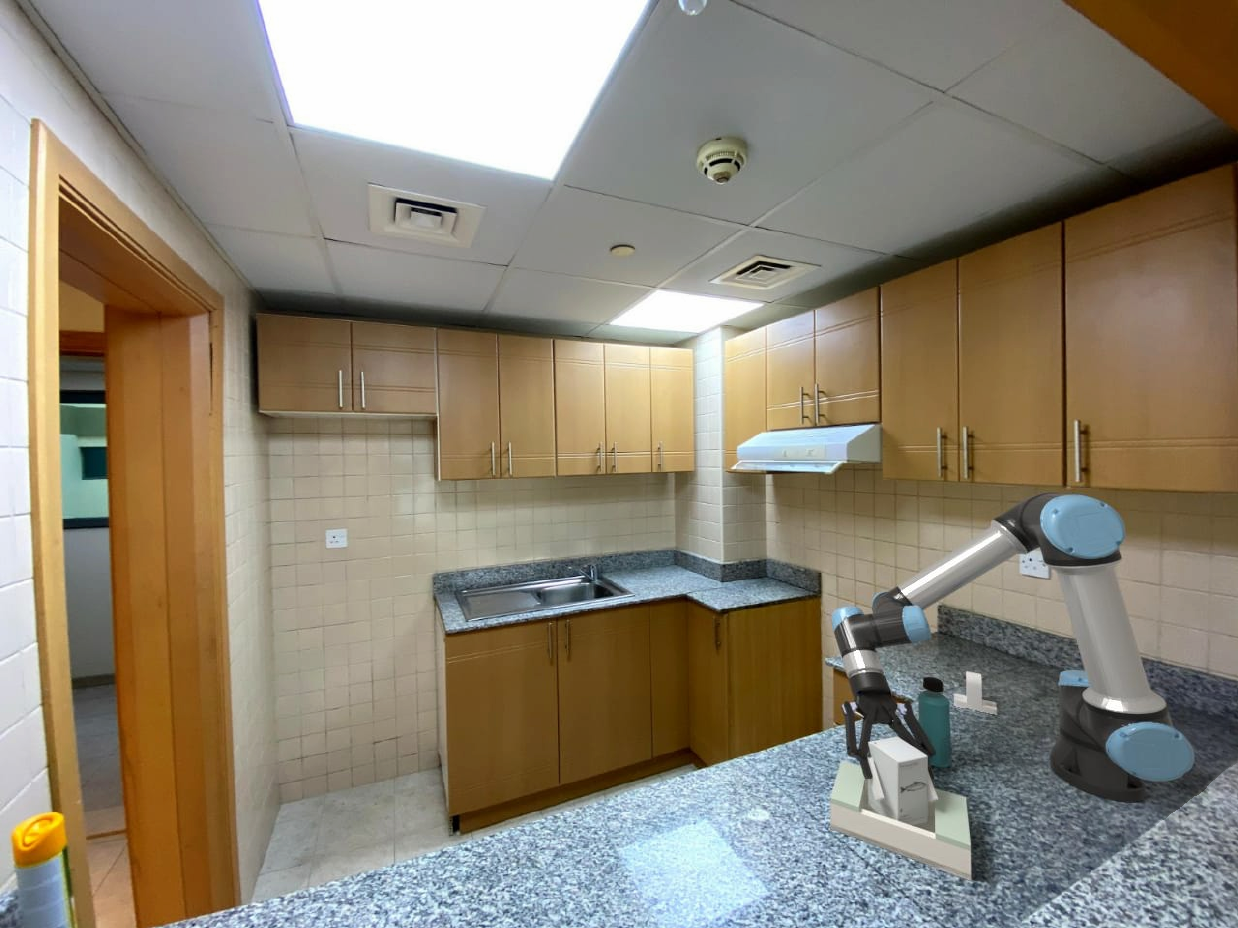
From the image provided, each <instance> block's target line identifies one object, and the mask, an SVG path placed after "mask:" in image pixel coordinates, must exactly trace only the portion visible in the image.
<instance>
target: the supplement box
mask: <svg viewBox="0 0 1238 928" xmlns="http://www.w3.org/2000/svg"><path fill="white" fill-rule="evenodd" d="M868 746H869V749H868V756H867V758H873V761H874V765H875V768H876V771H877V775H878V778H879V781H880V785H881V788H882V791H883V795H884V798H883V799H882V800H880V801H875V798H874V794H873V791H872V787H871V784H870V780H869V779H868V804H869V805H870V806H871V807H872V808H873V809H874V810H875V811H876V812H878V813H879V814H880V815H882V816H885V817H888V818H891V819H894V820H897V821H900V822H903V823H906V824H909V825H915V824H919V823H924V822H927V821H928V756H927V755H925V754H924V753H922V752H921V751H919V750H918V749H916V748H915V747H913V746H911V745H910V744H908V743H907V742H905V741H904V740H902V739H900V738H899V736H893V737H888V738H882V739H878V740H870V742H868Z"/></svg>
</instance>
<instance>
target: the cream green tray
mask: <svg viewBox="0 0 1238 928" xmlns="http://www.w3.org/2000/svg"><path fill="white" fill-rule="evenodd" d="M934 789H935V791H936V794H937V797H938V800H936V801H934V802H928V821H927V822H924V823H919V824H915V825H909V824H906V823H903V822H900V821H897V820H894V819H891V818H888V817H885V816H882V815H880V814H879V813H878V812H876V811H875V810H874V809H873V808H872V807H871V806H870V805H869V804H868V779H865V777H864V776H863V772H862V769H861V765H860V764H859V765H858V764H855V763H853V762H849V761H845V760H840V763H839V765H838V770H837V773H836V776H835V780H834V784H833V787H832V790H831V793H830V797H829V815H830V816H829V824H830V825H829V826H830V830H833V831H835V832H838V833H840V834H844V835H846V836H848V837H851V838H854V839H856V840H859V841H862V842H865V843H867V844H870V845H872V846H874V847H875V846H876V847H878V848H881V849H884V850H886V851H889V852H892V853H894V854H897V855H900V856H902V857H905V858H907V859H911V860H913V861H917V862H918V863H922V864H924V865H927V866H929V867H932V868H935V869H937V870H939V871H940V870H941V871H943V872H946V873H949V874H950V875H954V876H956V877H959V878H961V879H964V880H967V881H969V882H972V843H971V835H970V833H971V832H970V825H969V824H970V823H969V814H968V806H967V797H966V796H963V795H960V794H957V793H953V792H950V791H947V790H943V789H940V788H936V787H934Z"/></svg>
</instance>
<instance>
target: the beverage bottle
mask: <svg viewBox="0 0 1238 928" xmlns="http://www.w3.org/2000/svg"><path fill="white" fill-rule="evenodd" d="M922 681H923V682H922V688H923V689H924V690H923V691H921V692H920V693H918V695H917V699H918V701H917V702H918V703H917V704H918V705H917V706H918V707H917V708H918V711H917V712H918V713H917V714H918V716H917V720H918V722H919V724H920V726H921V727H922V729H923V731H924V732H925V734H926V736H927V737H928V739H929V741H930V742H931V744H932V746H933V747H934V749H935V751H936V755H934V756H933V757H931V758H930V759H929V763H930V766H934V767H937V768H947V767H949V766H950V765H951V763H952V757H953V756H952V752H953V751H952V734H951V726H952V725H951V720H950V719H951V717H950V715H951V714H950V710H951V709H950V703H951V702H950V700H949V699H948V698H947V697H946V696H945V695H944V694H943V693H944V691H945V688H944V681H943V680H942V679H939V678H937V677H933V676H926V677H924V678H923V680H922Z"/></svg>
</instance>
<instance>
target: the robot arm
mask: <svg viewBox="0 0 1238 928" xmlns="http://www.w3.org/2000/svg"><path fill="white" fill-rule="evenodd" d="M1125 538H1126V524H1125V522H1124V520H1123V518H1122V516H1121V515H1120V514H1119V512H1118V511H1117V510H1116V509H1115V508H1113V507H1112V506H1111V505H1110V504H1108V503H1106V502H1104V501H1102V500H1099V499H1097V498H1094V497H1090V496H1087V495H1083V494H1068V493H1067V494H1066V493H1059V492H1049V491H1048V492H1040V493H1037V494H1034V495H1031V496H1029V497H1027V498H1025V499H1023V500H1021V501H1020V502H1018V503H1017V504H1015V505H1013V506H1012V507H1010V508H1009V509H1007V510H1005V511H1004V512H1002V513H1001V514H999V515H998V516H997V517H995V518H993V519H991V521H990V526H989V527H987V529H985V530H984V531H982V532H980V533H979V534H977V535H976V536H973V537H972V538H971V539H969V540H968V541H966V542H965V543H962V545H960V546H958V547H957V548H956V549H954V550H952V551H950V552H949V553H947V554H945V555H944V556H942V557H941V558H939V559H938V560H936V561H935V562H933V563H932V564H930V565H928V566H927V567H925V568H924V569H923V570H920V571H919V572H918V573H916V574H915V575H913V576H911V577H910V578H908V579H906V580H904V581H903V582H902V583H899V585H897V586H895V587H894V588H892V589H890V590H886V591H885V590H883V591H880V592H878V593H876V594H875V595H874V596H873V598H872V600H871V610H872V613H866V614H865V613H864V612H863V611H862V609H861V608H860V607H858V606H848V605H847V606H842V607H839V608H837V609H835V610H834V611H832V613H831V616H830V622H831V626H832V630H833V635H834V637H835V640H836V644H837V647H838V650H839V653H840V655H841V659H842V662H843V663H842V664H843V666H844V670H845V673H846V676H847V678H848V684H849V686H850V687H849V688H850V689H851V693H852V696H853V699H854V700H853V702H849V701H848V700H846V701H844V702H843V704H842V705H841V707H840V708H841V711H842V714H843V716H844V727H845V740H846V741H845V742H846V754H847V755H848V757H851V758H855V760H856V761H857V762H859V766H861V769H862V772H863V776H864V777H865V779H869V780H870V784H871V787H872V791H873V794H874V798H875V801H880V800H882V799H883V798H884V795H883V791H882V788H881V785H880V781H879V778H878V775H877V771H876V768H875V765H874V761H873V758H868V749H869V746H868V742H871V736H872V729H873V725H879V724H881V725H884V726H885V725H887V726H888V727H889V728H890V729H891V730H893V731H894V733H895V734H896V735H897V737H899V738H900V739H902V740H904V741H905V742H907V743H908V744H910V745H911V746H913V747H915V748H916V749H918V750H919V751H921V752H922V753H924V754H925V755H927V756H928V802H934V801H936V800H938V797H937V794H936V791H935V787H934V783H933V780H935V775H934V772H933V768H932V765H931V764H930V763H929V759H930V758H931V757H933V756H934V755H936V751H935V749H934V747H933V746H932V744H931V742H930V741H929V739H928V737H927V736H926V734H925V732H924V731H923V729H922V727H921V726H920V724H919V722H918V718H917V717H916V715H915V714H914V709H913V705H912V703H910V702H907V701H906V702H905V703H900V702H897V701H896V700H895V699H894V697H893V696H892V695H893V694H892V692H891V688H890V685H889V682H888V679H887V677H886V675H885V674H884V673H885V672H884V669H883V666H882V663H881V661H880V657H879V655H878V652H877V649H881V648H888V647H893V646H901V645H907V644H917V643H919V642H923V641H927V640H930V639H931V638H932V631H931V628H930V627H931V626H930V625H929V621H928V620H927V619H928V618H927V617H926V614H925V612H924V611H925V610H926V609H928V608H930V607H932V606H934V605H935V604H937V603H938V602H940V601H941V600H943V599H945V598H947V597H948V596H950V595H951V594H953V593H955V592H956V591H958V590H960V589H962V588H963V587H965V586H967V585H968V584H970V583H971V582H973V581H975V580H976V579H978V578H980V577H981V576H983V575H985V574H986V573H988V572H989V571H991V570H994V569H995V568H997V567H998V566H1000V565H1001V564H1003V563H1005V562H1006V561H1008V560H1010V559H1011V558H1013V557H1014V556H1016V555H1028V554H1030V553H1032V552H1033V551H1034V550H1037V549H1040V552H1041V555H1042V556H1041V557H1042V559H1043V560H1042V561H1043V563H1044V565H1045V566H1047V567H1049V568H1050V569H1052V570H1054V571H1055V572H1056V575H1057V578H1058V581H1059V584H1060V585H1059V586H1060V589H1061V592H1062V595H1063V598H1064V602H1065V605H1066V609H1067V613H1068V616H1069V620H1070V623H1071V626H1072V629H1073V630H1072V631H1073V633H1074V636H1075V640H1076V643H1077V646H1078V650H1079V653H1080V657H1081V661H1082V663H1083V668H1084V670H1083V669H1082V670H1081V669H1067V670H1063V671H1061V672H1060V674H1059V678H1058V679H1059V681H1058V684H1057V686H1058V709H1059V710H1058V711H1059V715H1058V717H1059V735H1058V737H1057V739H1056V740H1055V741H1056V742H1055V744H1054V745H1053V748H1052V750H1051V752H1050V754H1049V766H1050V769H1051V770H1052V772H1053V774H1055V775H1056V776H1057V777H1059V778H1060V779H1061V780H1062V781H1064V782H1065V783H1068V784H1069V785H1071V786H1073V787H1075V788H1077V789H1079V790H1082V791H1084V792H1086V793H1089V794H1092V795H1095V796H1098V797H1101V798H1105V799H1107V800H1108V799H1109V800H1113V801H1118V802H1125V803H1128V802H1129V803H1136V802H1141V801H1143V800H1144V799H1145V798H1146V794H1147V793H1146V792H1147V786H1146V781H1148V782H1155V783H1161V782H1162V783H1165V782H1171V781H1174V780H1175V781H1176V780H1177V779H1181V778H1182V777H1183V776H1184V775H1185V773H1187V772H1189V771H1190V770H1191V769H1192V767H1193V765H1194V763H1195V751H1194V749H1193V747H1192V745H1191V743H1190V741H1188V740H1189V739H1187V738H1186V737H1185V735H1184V734H1183V733H1182V732H1180V731H1179V730H1178V729H1176V728H1175V727H1174V725H1173V722H1172V719H1171V715H1170V712H1169V709H1168V706H1167V703H1166V701H1165V699H1164V697H1162V696H1161V695H1159V694H1157V693H1156V692H1154V691H1152V690H1151V688H1150V684H1149V680H1148V678H1147V673H1146V671H1145V667H1144V664H1143V661H1142V658H1141V654H1140V650H1139V647H1138V643H1137V640H1136V637H1135V634H1134V630H1133V627H1132V624H1131V622H1130V618H1129V615H1128V611H1127V607H1126V604H1125V600H1124V597H1123V593H1122V590H1121V588H1120V585H1119V582H1118V578H1117V574H1116V570H1115V567H1116V566H1118V565H1119V563H1121V562H1122V561H1123V557H1122V554H1121V550H1120V546H1121V545H1122V543H1124V542H1125ZM856 711H857V712H859V714H860V715H861V716H862V717H863V718H862V723H861V727H862V728H861V731H860V738H859V743H858V742H857V734H856V732H857V731H856V719H855V713H856ZM897 711H898V712H899V715H901V716H902V718H903V720H904V722H905V723H906V725H907V728H909V729H907V728H906V726H905V725H904V724H903V723H902V719H901V718H900V717H899V716H898V714H897V713H896V712H897ZM909 730H910V731H909ZM857 743H858V745H857Z"/></svg>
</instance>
